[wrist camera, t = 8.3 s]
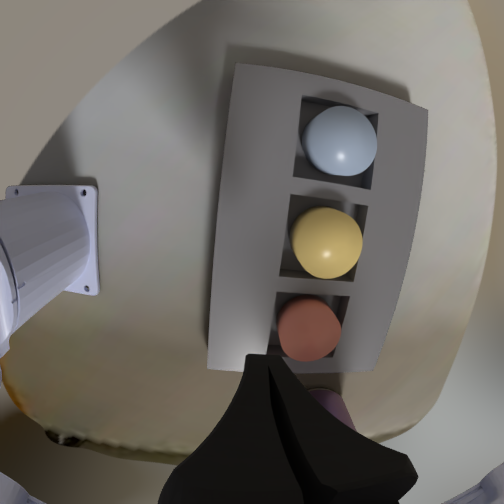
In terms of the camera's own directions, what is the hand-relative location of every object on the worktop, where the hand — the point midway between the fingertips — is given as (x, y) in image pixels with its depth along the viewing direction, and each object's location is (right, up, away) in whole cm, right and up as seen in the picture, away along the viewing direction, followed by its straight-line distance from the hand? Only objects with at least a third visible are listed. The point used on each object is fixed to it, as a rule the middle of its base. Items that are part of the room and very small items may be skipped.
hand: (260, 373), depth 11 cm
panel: (+4, +6, +8) cm, 11 cm away
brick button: (+3, 0, +9) cm, 10 cm away
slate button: (+5, +12, +6) cm, 14 cm away
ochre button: (+4, +6, +7) cm, 10 cm away
